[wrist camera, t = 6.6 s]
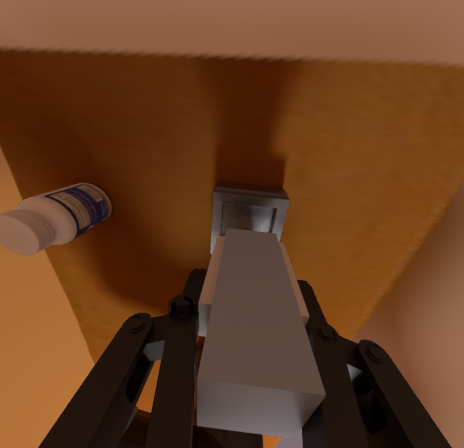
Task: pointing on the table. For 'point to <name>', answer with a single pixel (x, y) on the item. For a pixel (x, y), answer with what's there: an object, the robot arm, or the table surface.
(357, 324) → the table surface
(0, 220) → the pill bottle
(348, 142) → the table surface
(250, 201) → the grey block fixture
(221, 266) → the long gray rectangular block
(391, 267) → the table surface
